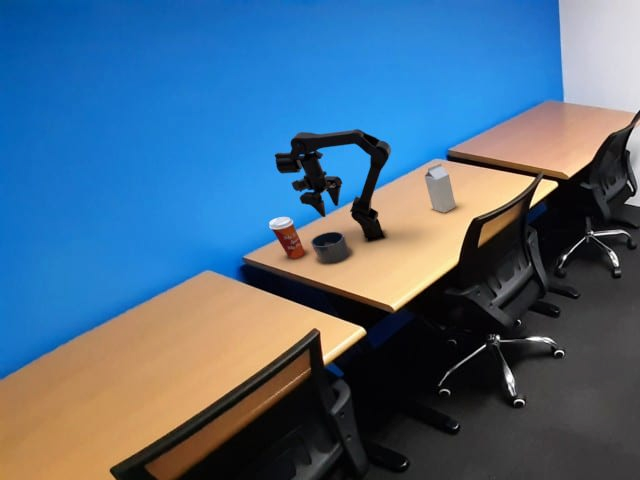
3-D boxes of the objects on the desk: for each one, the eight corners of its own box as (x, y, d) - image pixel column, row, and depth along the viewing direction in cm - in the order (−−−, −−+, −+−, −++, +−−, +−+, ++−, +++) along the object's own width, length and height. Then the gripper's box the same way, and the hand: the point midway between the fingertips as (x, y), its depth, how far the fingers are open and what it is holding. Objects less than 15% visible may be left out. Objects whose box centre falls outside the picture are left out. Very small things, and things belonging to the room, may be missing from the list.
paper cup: (298, 260, 173) (281, 226, 164) (280, 258, 174) (262, 224, 165) (312, 250, 179) (296, 216, 169) (295, 248, 180) (278, 214, 170)
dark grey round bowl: (348, 245, 181) (341, 229, 177) (352, 258, 174) (345, 242, 169) (317, 252, 177) (309, 236, 173) (320, 266, 170) (312, 249, 165)
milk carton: (456, 207, 206) (446, 164, 193) (444, 213, 201) (433, 170, 189) (444, 203, 209) (434, 161, 196) (432, 209, 204) (421, 166, 192)
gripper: (306, 160, 174) (323, 199, 184) (276, 180, 160) (296, 222, 171) (335, 161, 173) (350, 200, 184) (307, 181, 159) (325, 223, 170)
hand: (330, 211), depth 177 cm, fingers open, 9 cm apart
